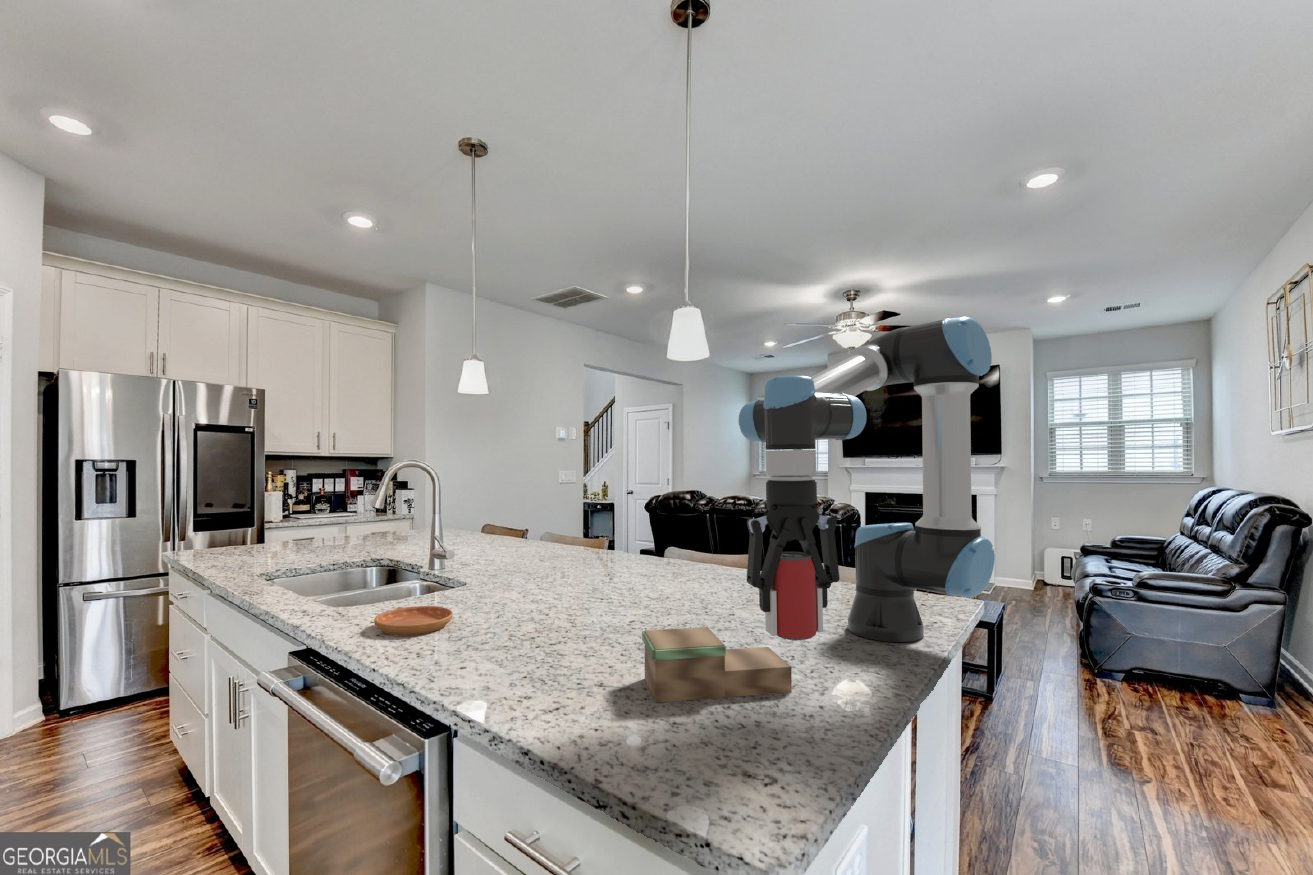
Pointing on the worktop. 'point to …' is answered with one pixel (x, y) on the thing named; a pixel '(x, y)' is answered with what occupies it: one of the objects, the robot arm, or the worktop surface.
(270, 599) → the worktop surface
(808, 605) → the beer can
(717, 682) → the step stand
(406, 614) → the saucer
